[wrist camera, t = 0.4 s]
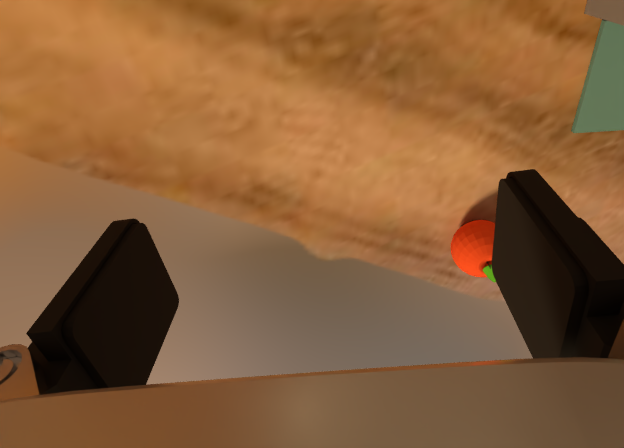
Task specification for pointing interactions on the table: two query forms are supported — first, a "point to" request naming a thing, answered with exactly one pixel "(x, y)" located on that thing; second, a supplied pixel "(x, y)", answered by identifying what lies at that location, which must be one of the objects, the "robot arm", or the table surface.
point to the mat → (603, 84)
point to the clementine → (474, 248)
